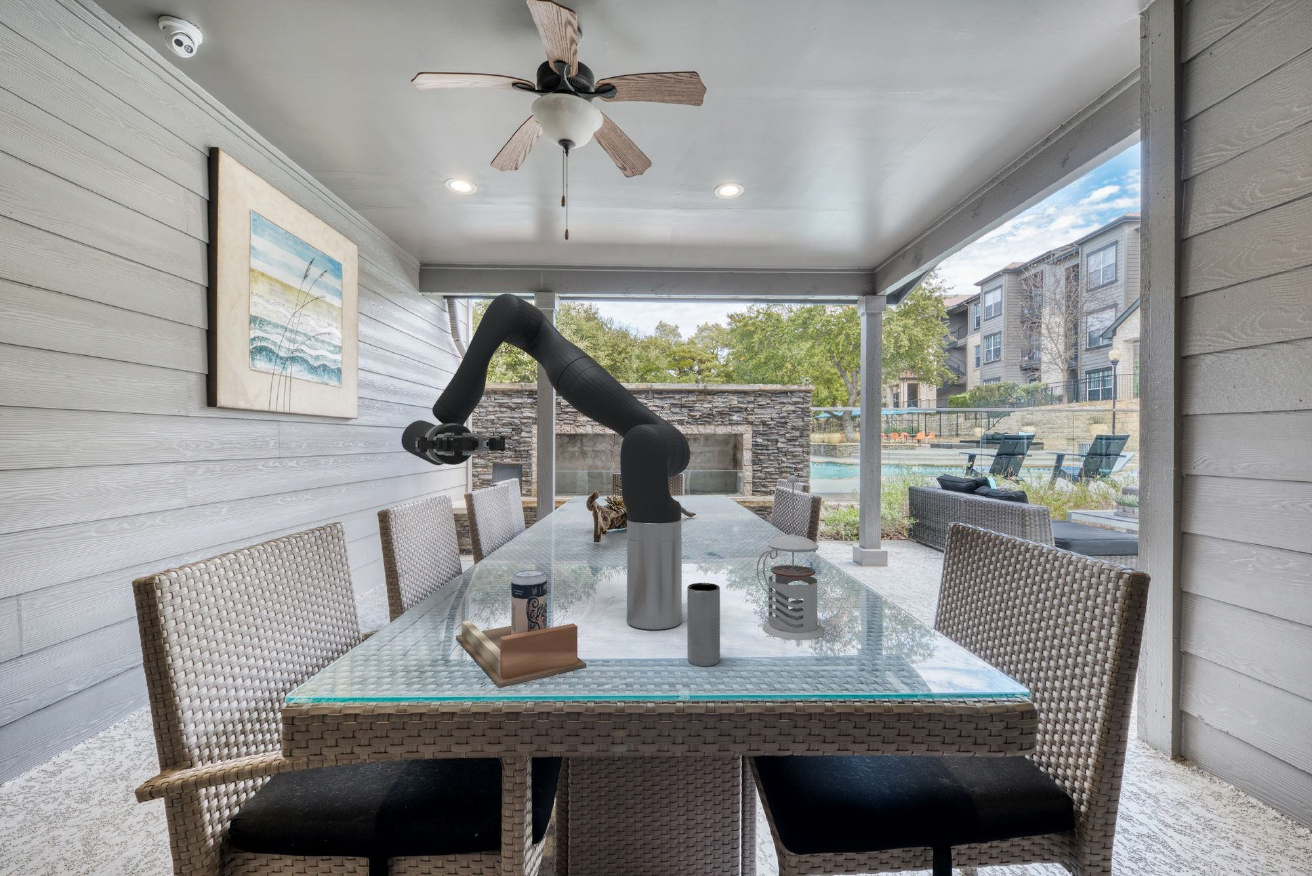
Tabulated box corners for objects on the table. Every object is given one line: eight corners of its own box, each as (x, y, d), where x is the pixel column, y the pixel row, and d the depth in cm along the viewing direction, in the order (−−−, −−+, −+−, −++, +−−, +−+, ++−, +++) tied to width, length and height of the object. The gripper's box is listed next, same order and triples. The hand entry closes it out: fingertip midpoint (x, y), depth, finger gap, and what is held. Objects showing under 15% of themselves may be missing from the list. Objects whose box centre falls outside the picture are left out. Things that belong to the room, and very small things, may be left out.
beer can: (538, 668, 78) (538, 577, 78) (505, 665, 79) (505, 576, 79) (552, 655, 83) (551, 569, 83) (520, 652, 83) (520, 568, 83)
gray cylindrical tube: (723, 656, 83) (723, 584, 83) (715, 668, 79) (715, 592, 79) (692, 652, 85) (692, 581, 85) (683, 664, 81) (683, 589, 81)
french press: (800, 644, 88) (800, 478, 88) (741, 626, 97) (741, 474, 97) (836, 630, 95) (836, 475, 95) (777, 614, 103) (777, 472, 103)
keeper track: (455, 638, 91) (455, 603, 91) (530, 625, 97) (530, 592, 97) (498, 687, 73) (498, 643, 73) (586, 667, 80) (586, 626, 80)
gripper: (406, 423, 105) (426, 420, 91) (486, 423, 113) (515, 421, 99) (406, 465, 105) (426, 469, 91) (486, 463, 113) (515, 466, 99)
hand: (472, 444), depth 95 cm, fingers open, 8 cm apart
